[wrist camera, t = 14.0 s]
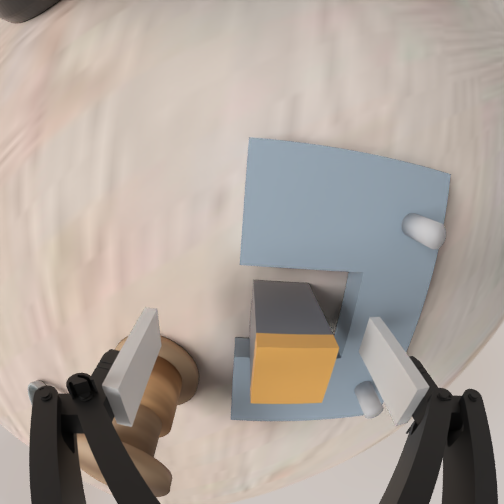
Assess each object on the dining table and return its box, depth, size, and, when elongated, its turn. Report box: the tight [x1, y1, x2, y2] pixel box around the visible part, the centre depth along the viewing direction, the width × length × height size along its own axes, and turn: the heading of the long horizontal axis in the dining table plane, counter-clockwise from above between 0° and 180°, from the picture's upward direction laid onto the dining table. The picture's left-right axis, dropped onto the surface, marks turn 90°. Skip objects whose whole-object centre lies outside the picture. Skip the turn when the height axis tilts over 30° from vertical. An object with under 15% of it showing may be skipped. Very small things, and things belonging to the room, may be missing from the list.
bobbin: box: [77, 336, 199, 497], centre depth 17 cm, size 8×8×12 cm
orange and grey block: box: [250, 280, 339, 404], centre depth 17 cm, size 4×4×8 cm
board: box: [231, 137, 451, 421], centre depth 18 cm, size 22×14×6 cm, turn 176°
